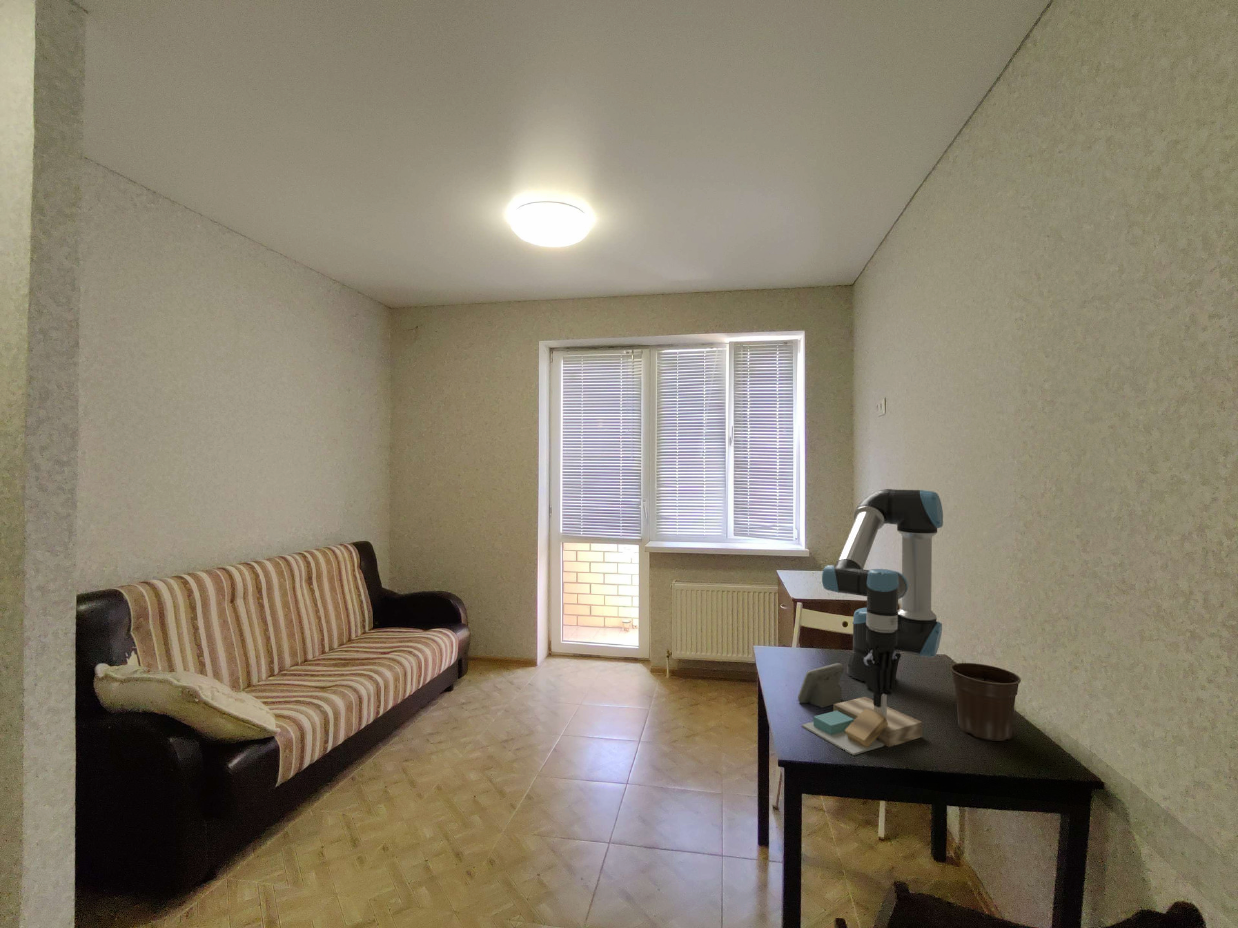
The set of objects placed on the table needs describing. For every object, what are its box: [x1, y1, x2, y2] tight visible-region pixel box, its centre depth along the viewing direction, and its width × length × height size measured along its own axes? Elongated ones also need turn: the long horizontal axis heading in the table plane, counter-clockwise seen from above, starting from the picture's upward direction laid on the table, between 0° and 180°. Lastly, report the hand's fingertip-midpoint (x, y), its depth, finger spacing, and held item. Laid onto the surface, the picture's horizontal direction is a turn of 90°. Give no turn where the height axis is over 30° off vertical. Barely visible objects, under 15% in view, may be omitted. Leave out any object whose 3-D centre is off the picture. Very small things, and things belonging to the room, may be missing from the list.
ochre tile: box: [845, 708, 888, 748], centre depth 146 cm, size 9×6×2 cm, turn 116°
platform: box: [832, 696, 923, 748], centre depth 154 cm, size 13×18×4 cm
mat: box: [801, 721, 885, 756], centre depth 149 cm, size 12×17×1 cm
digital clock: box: [797, 662, 844, 708], centre depth 172 cm, size 16×9×11 cm, turn 111°
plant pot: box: [949, 662, 1022, 742], centre depth 153 cm, size 16×16×16 cm
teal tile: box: [812, 711, 855, 735], centre depth 153 cm, size 9×6×2 cm, turn 117°
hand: (880, 717), depth 148 cm, fingers closed
